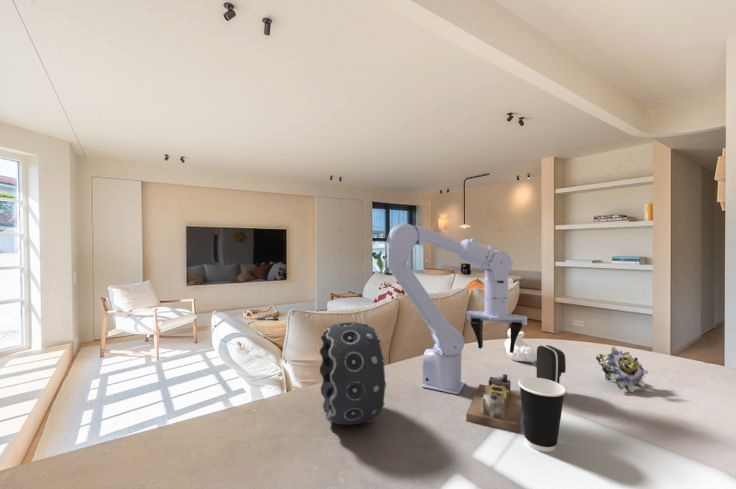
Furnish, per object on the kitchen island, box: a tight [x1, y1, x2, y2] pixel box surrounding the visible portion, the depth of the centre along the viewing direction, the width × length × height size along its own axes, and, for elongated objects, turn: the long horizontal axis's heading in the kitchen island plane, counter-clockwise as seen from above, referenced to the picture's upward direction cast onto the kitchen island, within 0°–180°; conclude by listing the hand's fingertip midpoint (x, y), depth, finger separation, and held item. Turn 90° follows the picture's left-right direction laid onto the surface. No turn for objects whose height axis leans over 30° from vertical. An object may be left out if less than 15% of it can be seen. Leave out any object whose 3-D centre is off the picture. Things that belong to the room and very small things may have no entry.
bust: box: [503, 328, 537, 364], centre depth 112 cm, size 12×8×11 cm
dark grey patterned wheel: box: [319, 321, 387, 426], centre depth 74 cm, size 11×20×20 cm, turn 15°
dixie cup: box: [517, 376, 567, 453], centre depth 66 cm, size 8×8×11 cm
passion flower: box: [595, 345, 649, 394], centre depth 93 cm, size 11×11×12 cm
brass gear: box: [485, 384, 509, 405], centre depth 79 cm, size 5×5×3 cm
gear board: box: [465, 373, 522, 434], centre depth 79 cm, size 10×17×6 cm, turn 154°
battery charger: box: [535, 344, 567, 384], centre depth 88 cm, size 7×4×11 cm, turn 8°
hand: (495, 349), depth 92 cm, fingers open, 7 cm apart
